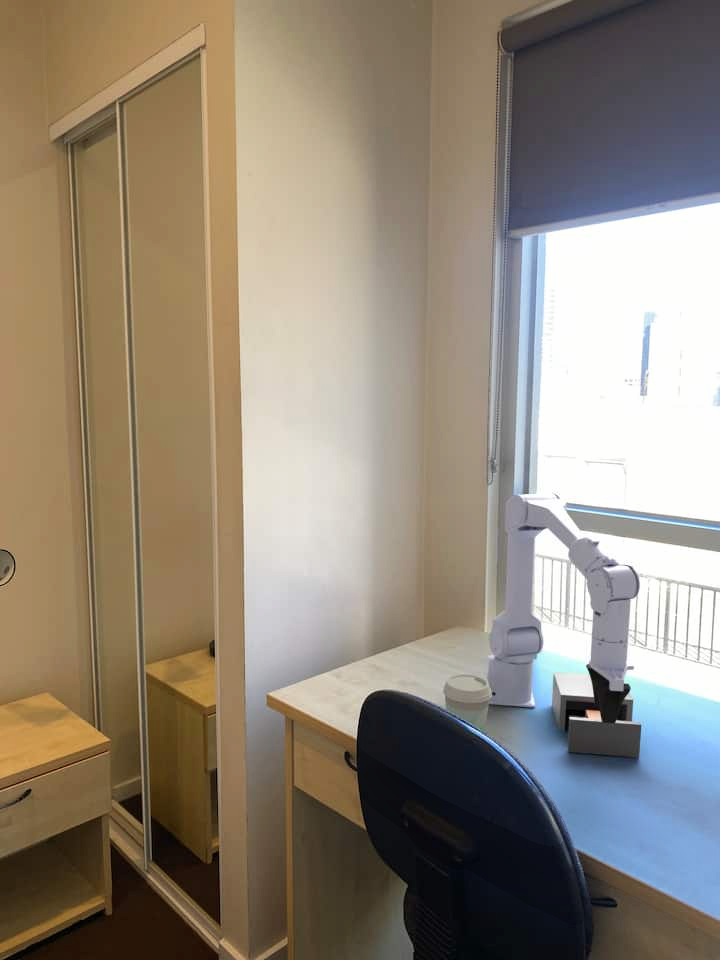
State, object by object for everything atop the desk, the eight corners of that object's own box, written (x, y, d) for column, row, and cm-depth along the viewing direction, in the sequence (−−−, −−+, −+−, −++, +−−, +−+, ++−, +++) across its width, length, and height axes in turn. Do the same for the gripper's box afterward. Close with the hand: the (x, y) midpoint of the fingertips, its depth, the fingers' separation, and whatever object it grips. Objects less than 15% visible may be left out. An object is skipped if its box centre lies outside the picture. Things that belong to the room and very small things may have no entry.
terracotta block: (584, 730, 133) (585, 709, 133) (609, 732, 132) (611, 711, 132) (588, 742, 129) (589, 720, 128) (614, 744, 128) (615, 723, 127)
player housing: (559, 730, 135) (560, 694, 134) (551, 705, 146) (553, 672, 145) (630, 736, 133) (633, 699, 132) (618, 710, 144) (620, 676, 143)
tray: (568, 751, 127) (570, 719, 126) (560, 723, 138) (561, 693, 137) (639, 757, 125) (641, 724, 124) (625, 728, 136) (627, 698, 135)
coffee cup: (478, 763, 123) (480, 696, 121) (433, 749, 127) (435, 684, 126) (496, 743, 130) (499, 679, 129) (453, 730, 135) (455, 669, 133)
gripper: (646, 654, 112) (640, 737, 113) (625, 624, 126) (620, 698, 128) (599, 651, 113) (594, 733, 114) (583, 622, 127) (579, 695, 128)
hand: (605, 714), depth 121 cm, fingers open, 5 cm apart
